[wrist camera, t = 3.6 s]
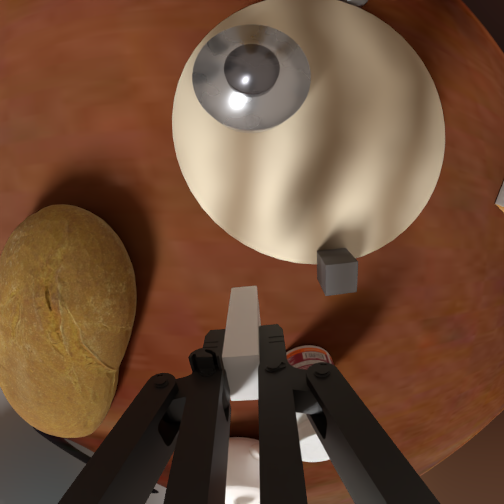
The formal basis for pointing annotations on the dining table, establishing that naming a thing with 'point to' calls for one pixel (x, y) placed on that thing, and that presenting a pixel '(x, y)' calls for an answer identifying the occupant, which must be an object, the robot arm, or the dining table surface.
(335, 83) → the platter
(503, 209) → the small box
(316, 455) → the pill bottle
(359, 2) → the silver rod with block
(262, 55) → the cover
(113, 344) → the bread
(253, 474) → the teapot
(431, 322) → the dining table surface
